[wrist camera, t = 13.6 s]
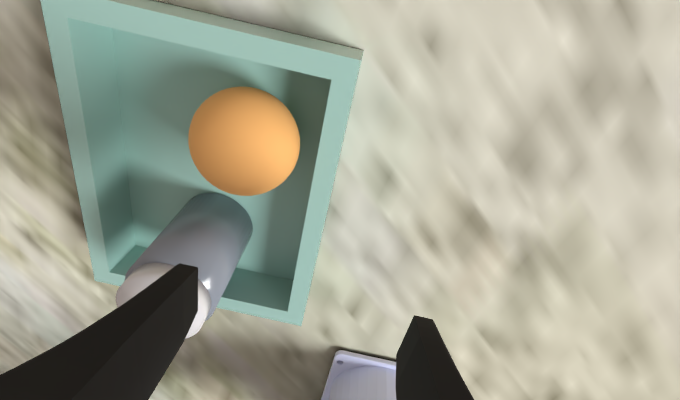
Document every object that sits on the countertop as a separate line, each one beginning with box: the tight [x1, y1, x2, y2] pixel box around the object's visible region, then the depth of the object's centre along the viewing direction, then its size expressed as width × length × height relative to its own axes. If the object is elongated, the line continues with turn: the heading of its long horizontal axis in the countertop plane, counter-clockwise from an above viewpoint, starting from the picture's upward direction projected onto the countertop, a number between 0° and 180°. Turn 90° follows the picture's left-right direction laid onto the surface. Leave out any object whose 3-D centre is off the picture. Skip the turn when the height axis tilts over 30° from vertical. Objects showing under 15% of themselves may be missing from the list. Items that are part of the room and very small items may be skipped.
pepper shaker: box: [116, 193, 253, 339], centre depth 19 cm, size 4×4×7 cm
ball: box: [188, 86, 300, 196], centre depth 17 cm, size 5×5×5 cm
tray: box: [40, 0, 364, 326], centre depth 19 cm, size 16×13×3 cm
